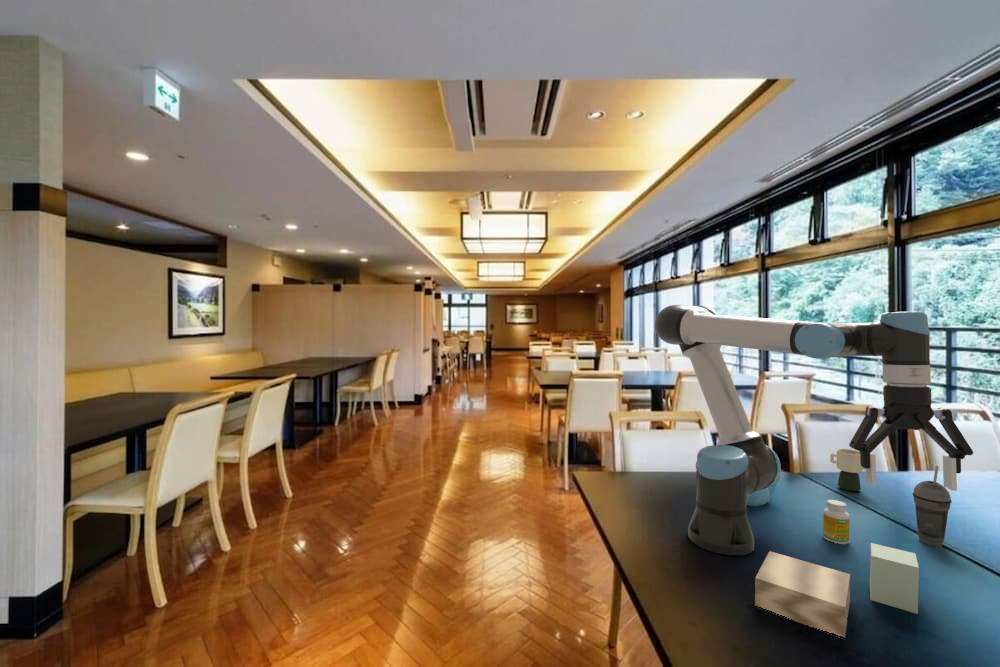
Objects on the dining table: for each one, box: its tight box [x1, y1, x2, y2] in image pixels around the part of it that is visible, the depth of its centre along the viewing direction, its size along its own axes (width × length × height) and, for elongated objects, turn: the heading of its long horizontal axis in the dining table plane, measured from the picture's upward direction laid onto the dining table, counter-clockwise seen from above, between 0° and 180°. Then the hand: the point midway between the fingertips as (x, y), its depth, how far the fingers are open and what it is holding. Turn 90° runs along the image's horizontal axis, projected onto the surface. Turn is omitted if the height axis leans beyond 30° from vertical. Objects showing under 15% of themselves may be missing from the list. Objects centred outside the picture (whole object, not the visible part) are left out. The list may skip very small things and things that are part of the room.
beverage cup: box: [912, 465, 952, 548], centre depth 115 cm, size 7×7×20 cm
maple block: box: [754, 550, 851, 639], centre depth 89 cm, size 14×14×6 cm
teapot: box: [747, 475, 781, 507], centre depth 143 cm, size 15×15×11 cm
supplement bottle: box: [822, 499, 851, 545], centre depth 116 cm, size 5×5×10 cm
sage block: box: [869, 542, 920, 615], centre depth 91 cm, size 7×7×9 cm
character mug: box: [829, 448, 866, 492], centre depth 152 cm, size 11×7×13 cm, turn 39°
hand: (909, 486), depth 94 cm, fingers open, 13 cm apart
